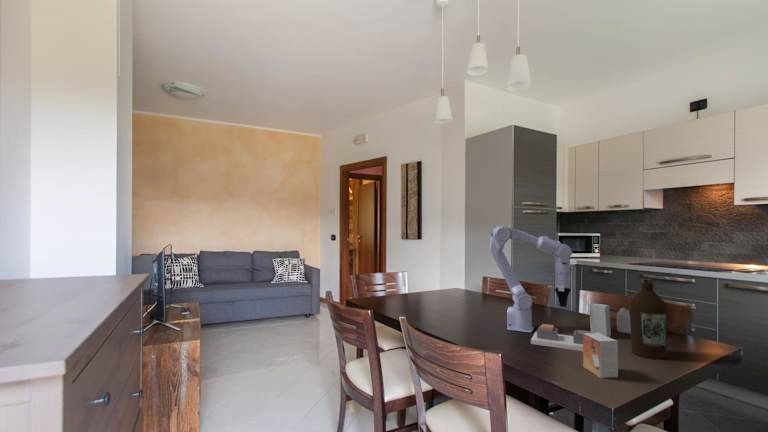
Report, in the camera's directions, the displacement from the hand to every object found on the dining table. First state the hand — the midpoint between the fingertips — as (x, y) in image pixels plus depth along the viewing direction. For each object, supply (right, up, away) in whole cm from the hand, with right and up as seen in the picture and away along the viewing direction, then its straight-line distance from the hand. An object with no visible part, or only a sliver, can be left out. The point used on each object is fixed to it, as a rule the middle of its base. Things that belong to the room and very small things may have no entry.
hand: (563, 306), depth 153 cm
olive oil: (+15, -9, -28) cm, 33 cm away
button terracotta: (-12, -7, -14) cm, 20 cm away
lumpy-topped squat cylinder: (+29, -10, -1) cm, 30 cm away
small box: (-10, -9, -43) cm, 45 cm away
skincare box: (+11, -10, -8) cm, 16 cm away
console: (-7, -10, -17) cm, 21 cm away
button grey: (-2, -8, -20) cm, 21 cm away
